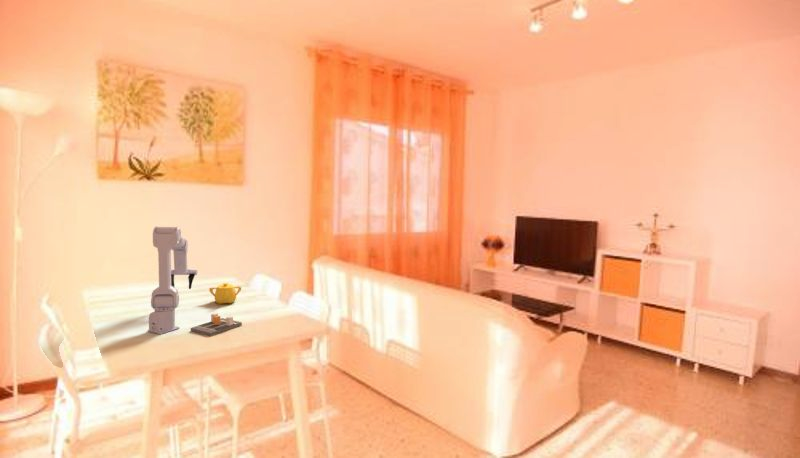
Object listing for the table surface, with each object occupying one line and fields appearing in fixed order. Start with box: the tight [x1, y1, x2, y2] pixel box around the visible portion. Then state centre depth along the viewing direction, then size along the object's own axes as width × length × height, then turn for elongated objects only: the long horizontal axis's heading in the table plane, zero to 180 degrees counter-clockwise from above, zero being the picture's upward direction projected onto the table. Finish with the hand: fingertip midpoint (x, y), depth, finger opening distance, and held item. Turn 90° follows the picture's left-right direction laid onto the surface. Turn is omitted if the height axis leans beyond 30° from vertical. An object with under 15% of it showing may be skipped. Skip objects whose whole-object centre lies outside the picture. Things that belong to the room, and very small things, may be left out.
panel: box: [190, 312, 243, 337], centre depth 193 cm, size 17×12×5 cm
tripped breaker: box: [213, 315, 221, 325], centre depth 192 cm, size 2×2×4 cm
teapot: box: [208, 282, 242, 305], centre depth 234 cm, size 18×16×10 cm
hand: (181, 288), depth 218 cm, fingers open, 7 cm apart
